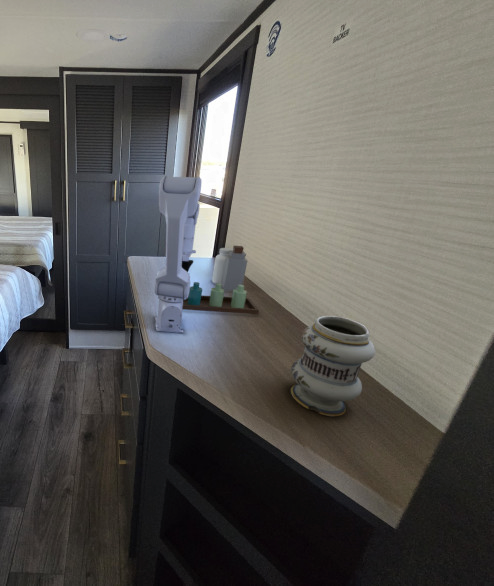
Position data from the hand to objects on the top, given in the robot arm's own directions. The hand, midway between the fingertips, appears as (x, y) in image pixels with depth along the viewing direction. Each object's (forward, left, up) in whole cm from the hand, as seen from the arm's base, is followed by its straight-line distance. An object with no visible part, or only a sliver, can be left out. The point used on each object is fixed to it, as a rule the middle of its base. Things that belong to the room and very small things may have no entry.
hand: (181, 275), depth 111 cm
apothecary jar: (-50, -24, -11) cm, 56 cm away
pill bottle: (+25, -21, -11) cm, 35 cm away
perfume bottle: (+17, -23, -11) cm, 31 cm away
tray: (-3, -13, -10) cm, 17 cm away
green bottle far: (-3, -20, -10) cm, 22 cm away
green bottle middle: (-3, -13, -10) cm, 16 cm away
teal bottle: (-3, -5, -10) cm, 11 cm away
